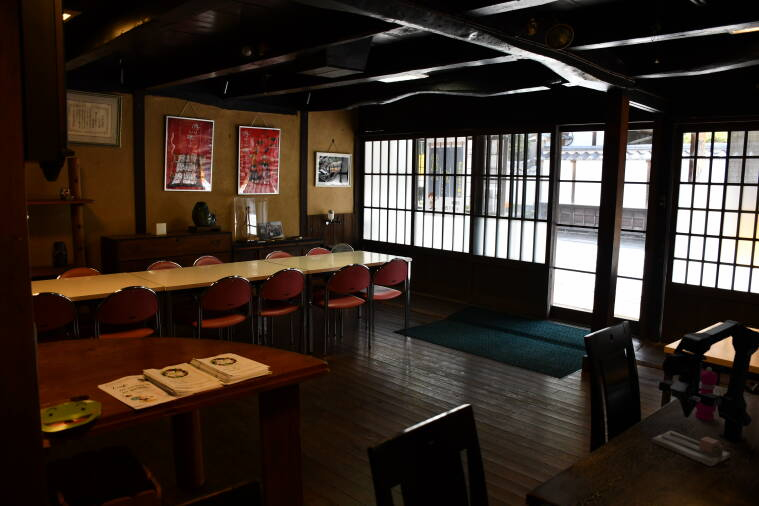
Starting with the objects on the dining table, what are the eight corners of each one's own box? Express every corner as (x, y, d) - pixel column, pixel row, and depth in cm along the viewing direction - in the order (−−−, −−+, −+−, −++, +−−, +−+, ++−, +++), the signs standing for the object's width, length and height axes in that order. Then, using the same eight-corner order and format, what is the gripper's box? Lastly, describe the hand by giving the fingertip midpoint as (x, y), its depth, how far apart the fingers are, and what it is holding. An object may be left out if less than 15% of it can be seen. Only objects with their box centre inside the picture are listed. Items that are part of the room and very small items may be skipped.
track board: (670, 434, 211) (672, 422, 210) (729, 457, 194) (730, 444, 194) (651, 442, 204) (652, 429, 203) (710, 466, 187) (712, 453, 187)
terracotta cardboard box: (705, 447, 197) (706, 436, 196) (717, 452, 193) (718, 441, 193) (699, 450, 194) (700, 439, 194) (711, 455, 191) (712, 443, 191)
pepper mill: (717, 422, 223) (723, 371, 220) (697, 419, 224) (702, 369, 222) (711, 414, 230) (716, 365, 228) (691, 412, 231) (696, 363, 229)
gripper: (651, 368, 200) (647, 412, 202) (707, 385, 185) (701, 432, 187) (669, 363, 207) (665, 406, 209) (724, 379, 191) (719, 425, 193)
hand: (686, 417), depth 199 cm, fingers closed
